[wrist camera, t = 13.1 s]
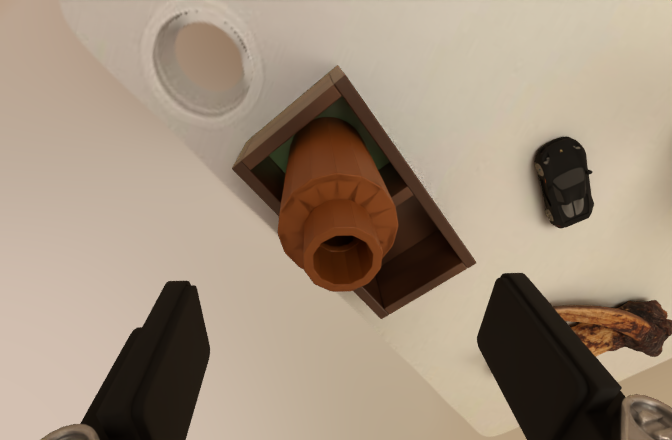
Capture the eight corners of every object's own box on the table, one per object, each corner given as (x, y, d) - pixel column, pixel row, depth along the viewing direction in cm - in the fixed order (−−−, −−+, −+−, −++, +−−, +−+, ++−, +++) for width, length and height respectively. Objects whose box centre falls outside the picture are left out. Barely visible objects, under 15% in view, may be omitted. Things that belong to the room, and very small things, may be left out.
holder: (370, 276, 33) (381, 319, 28) (245, 142, 26) (231, 168, 21) (450, 225, 31) (477, 263, 26) (337, 64, 24) (345, 74, 19)
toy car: (528, 149, 28) (544, 157, 26) (572, 128, 27) (591, 136, 25) (546, 225, 31) (561, 238, 29) (584, 209, 31) (602, 220, 29)
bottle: (276, 167, 26) (249, 283, 14) (313, 101, 24) (318, 172, 12) (339, 201, 28) (361, 328, 16) (379, 141, 26) (439, 238, 14)
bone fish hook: (642, 255, 34) (472, 330, 37) (689, 284, 30) (493, 367, 33) (652, 316, 38) (497, 380, 41) (695, 350, 34) (519, 418, 37)
